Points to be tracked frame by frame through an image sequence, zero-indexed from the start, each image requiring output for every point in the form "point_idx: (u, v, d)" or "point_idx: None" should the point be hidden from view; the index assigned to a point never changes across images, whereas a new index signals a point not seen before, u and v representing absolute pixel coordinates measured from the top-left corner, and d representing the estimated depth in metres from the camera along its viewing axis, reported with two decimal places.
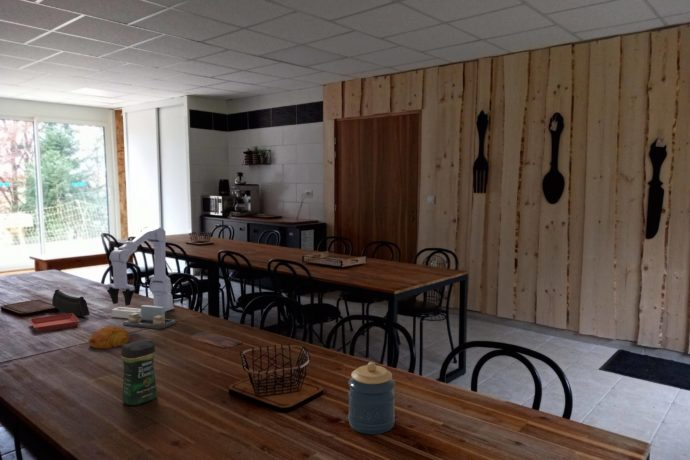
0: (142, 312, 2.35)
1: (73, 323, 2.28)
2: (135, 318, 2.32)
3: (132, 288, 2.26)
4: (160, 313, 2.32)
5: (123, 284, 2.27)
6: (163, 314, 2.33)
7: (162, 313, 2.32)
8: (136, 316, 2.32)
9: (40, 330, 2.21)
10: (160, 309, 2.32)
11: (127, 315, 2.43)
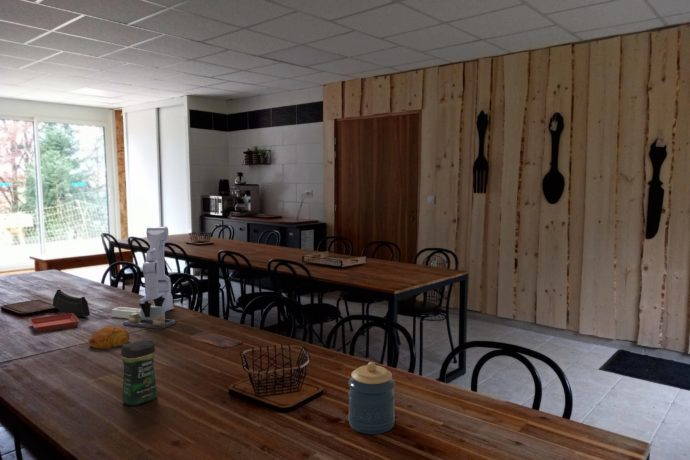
0: (142, 312, 2.35)
1: (73, 323, 2.28)
2: (135, 318, 2.32)
3: (140, 301, 2.27)
4: (160, 313, 2.32)
5: (146, 295, 2.32)
6: (163, 314, 2.33)
7: (162, 313, 2.32)
8: (136, 316, 2.32)
9: (40, 330, 2.21)
10: (160, 309, 2.32)
11: (127, 315, 2.43)
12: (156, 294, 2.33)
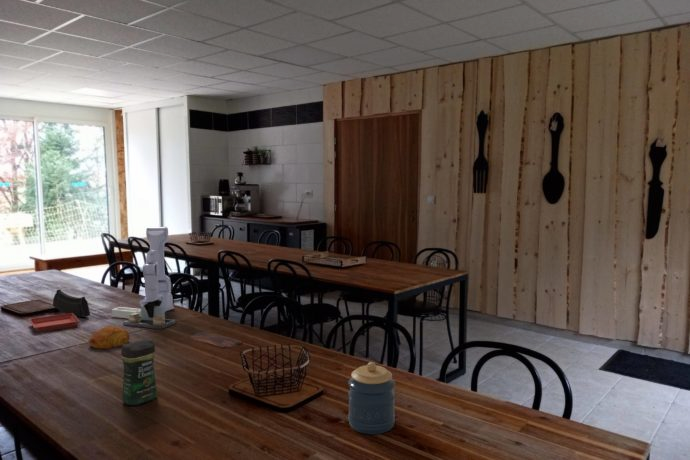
0: (142, 312, 2.35)
1: (73, 323, 2.28)
2: (135, 318, 2.32)
3: (141, 303, 2.27)
4: (160, 313, 2.32)
5: (146, 297, 2.32)
6: (163, 314, 2.33)
7: (162, 313, 2.32)
8: (136, 316, 2.32)
9: (40, 330, 2.21)
10: (160, 309, 2.32)
11: (127, 315, 2.43)
12: (156, 296, 2.33)
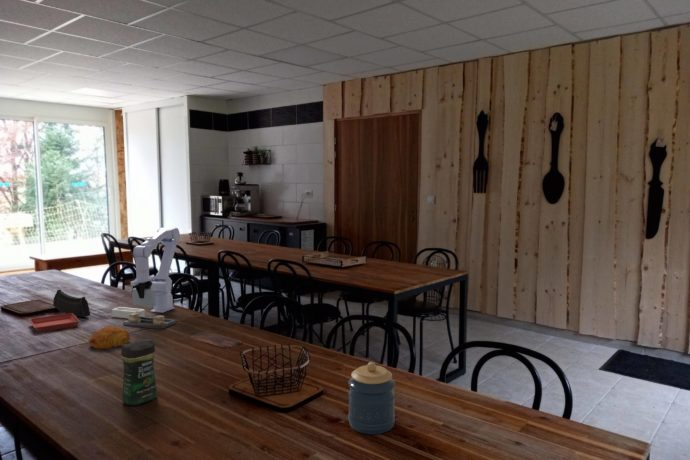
0: (133, 295, 2.42)
1: (73, 323, 2.28)
2: (135, 318, 2.32)
3: (131, 283, 2.34)
4: (151, 295, 2.39)
5: (137, 278, 2.38)
6: (154, 296, 2.40)
7: (153, 295, 2.39)
8: (136, 316, 2.32)
9: (40, 330, 2.21)
10: (151, 291, 2.38)
11: (127, 315, 2.43)
12: (147, 277, 2.40)
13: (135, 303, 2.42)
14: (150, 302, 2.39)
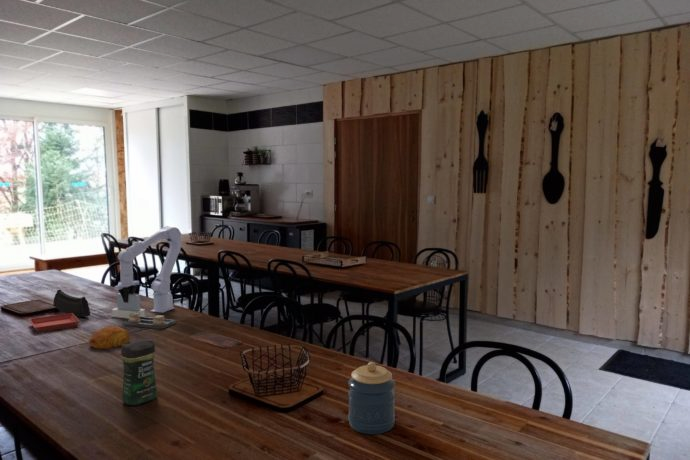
0: (118, 300, 2.46)
1: (73, 323, 2.28)
2: (135, 318, 2.32)
3: (115, 288, 2.38)
4: (135, 301, 2.42)
5: (121, 283, 2.42)
6: (138, 302, 2.43)
7: (137, 301, 2.43)
8: (136, 316, 2.32)
9: (40, 330, 2.21)
10: (135, 297, 2.42)
11: (127, 315, 2.43)
12: (131, 281, 2.43)
13: (120, 308, 2.46)
14: (134, 307, 2.43)
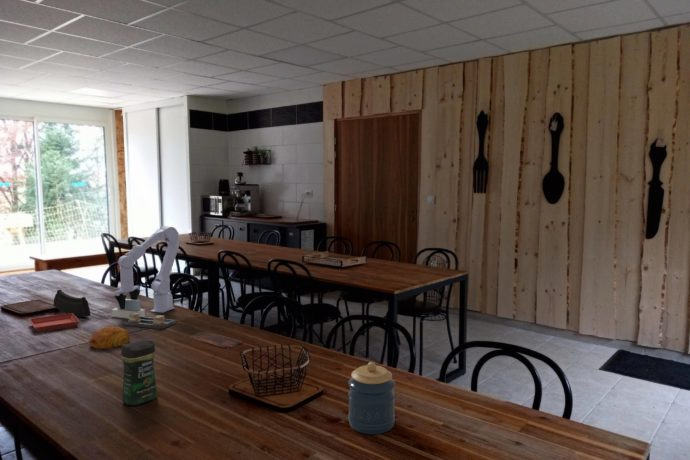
0: (118, 305, 2.46)
1: (73, 323, 2.28)
2: (135, 318, 2.32)
3: (116, 293, 2.38)
4: (135, 306, 2.43)
5: (121, 288, 2.42)
6: (138, 307, 2.44)
7: (137, 306, 2.43)
8: (136, 316, 2.32)
9: (40, 330, 2.21)
10: (135, 302, 2.42)
11: (127, 315, 2.43)
12: (131, 287, 2.43)
13: None
14: None
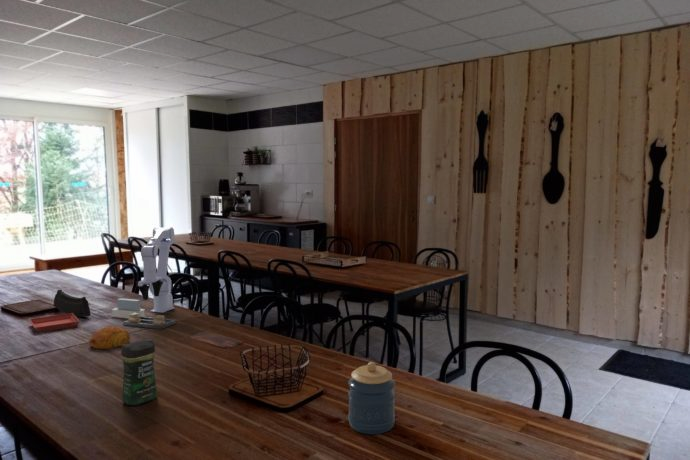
0: (118, 305, 2.46)
1: (73, 323, 2.28)
2: (135, 318, 2.32)
3: (139, 284, 2.33)
4: (135, 306, 2.43)
5: (144, 278, 2.38)
6: (138, 307, 2.44)
7: (137, 306, 2.43)
8: (136, 316, 2.32)
9: (40, 330, 2.21)
10: (135, 302, 2.42)
11: (127, 315, 2.43)
12: (154, 277, 2.39)
13: None
14: None
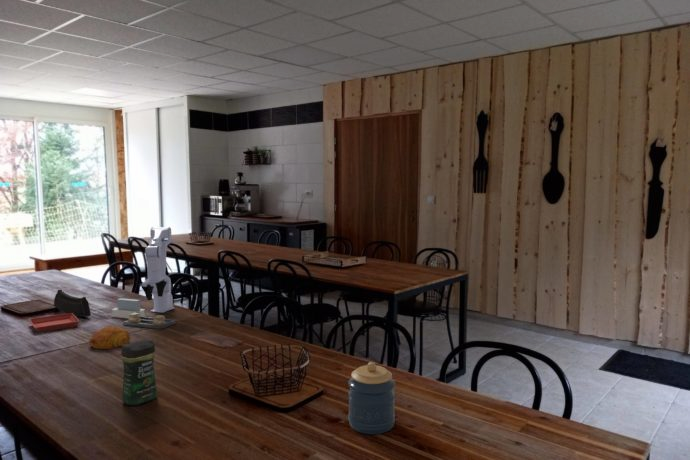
0: (118, 305, 2.46)
1: (73, 323, 2.28)
2: (135, 318, 2.32)
3: (143, 284, 2.33)
4: (135, 306, 2.43)
5: (148, 279, 2.37)
6: (138, 307, 2.44)
7: (137, 306, 2.43)
8: (136, 316, 2.32)
9: (40, 330, 2.21)
10: (135, 302, 2.42)
11: (127, 315, 2.43)
12: (158, 278, 2.38)
13: None
14: None
